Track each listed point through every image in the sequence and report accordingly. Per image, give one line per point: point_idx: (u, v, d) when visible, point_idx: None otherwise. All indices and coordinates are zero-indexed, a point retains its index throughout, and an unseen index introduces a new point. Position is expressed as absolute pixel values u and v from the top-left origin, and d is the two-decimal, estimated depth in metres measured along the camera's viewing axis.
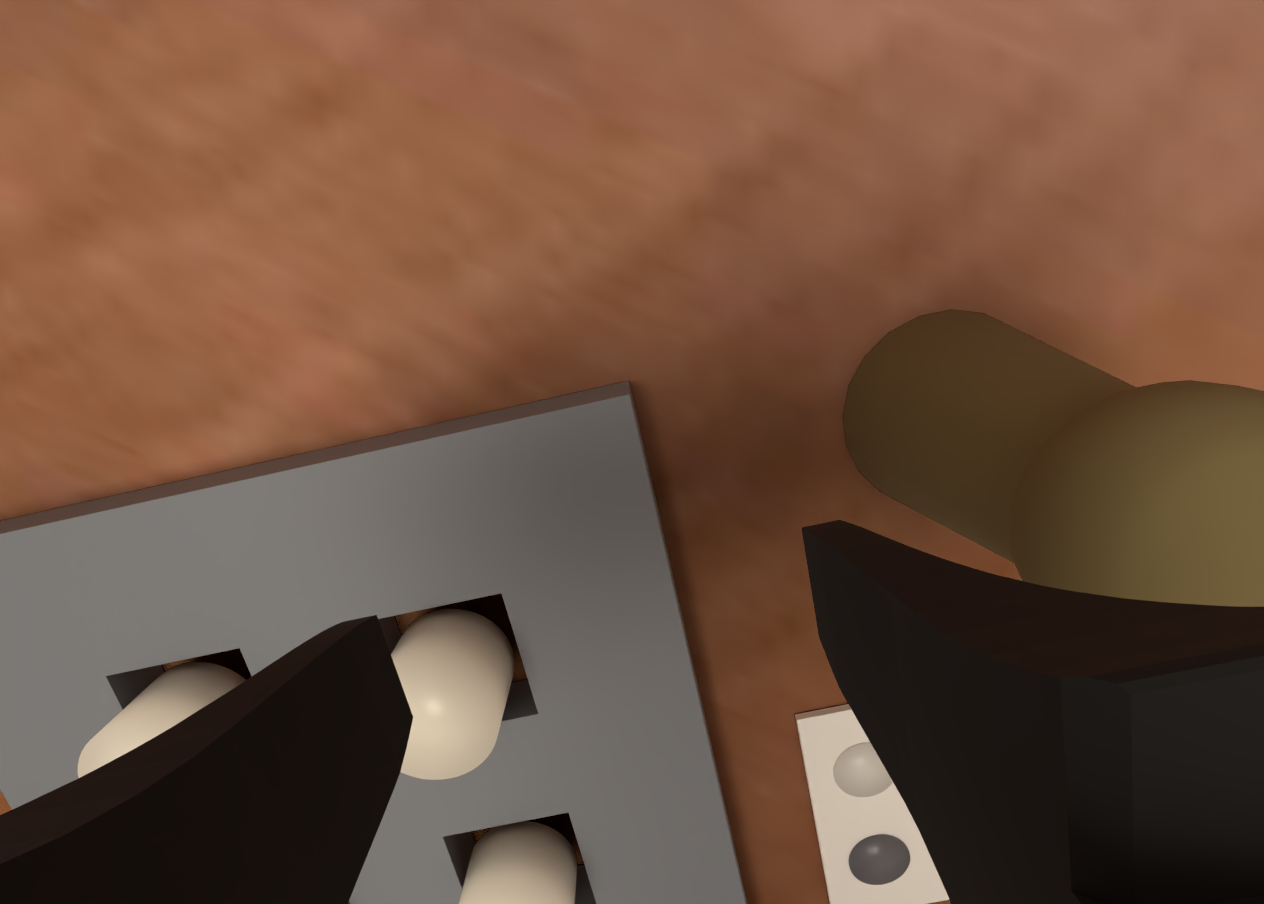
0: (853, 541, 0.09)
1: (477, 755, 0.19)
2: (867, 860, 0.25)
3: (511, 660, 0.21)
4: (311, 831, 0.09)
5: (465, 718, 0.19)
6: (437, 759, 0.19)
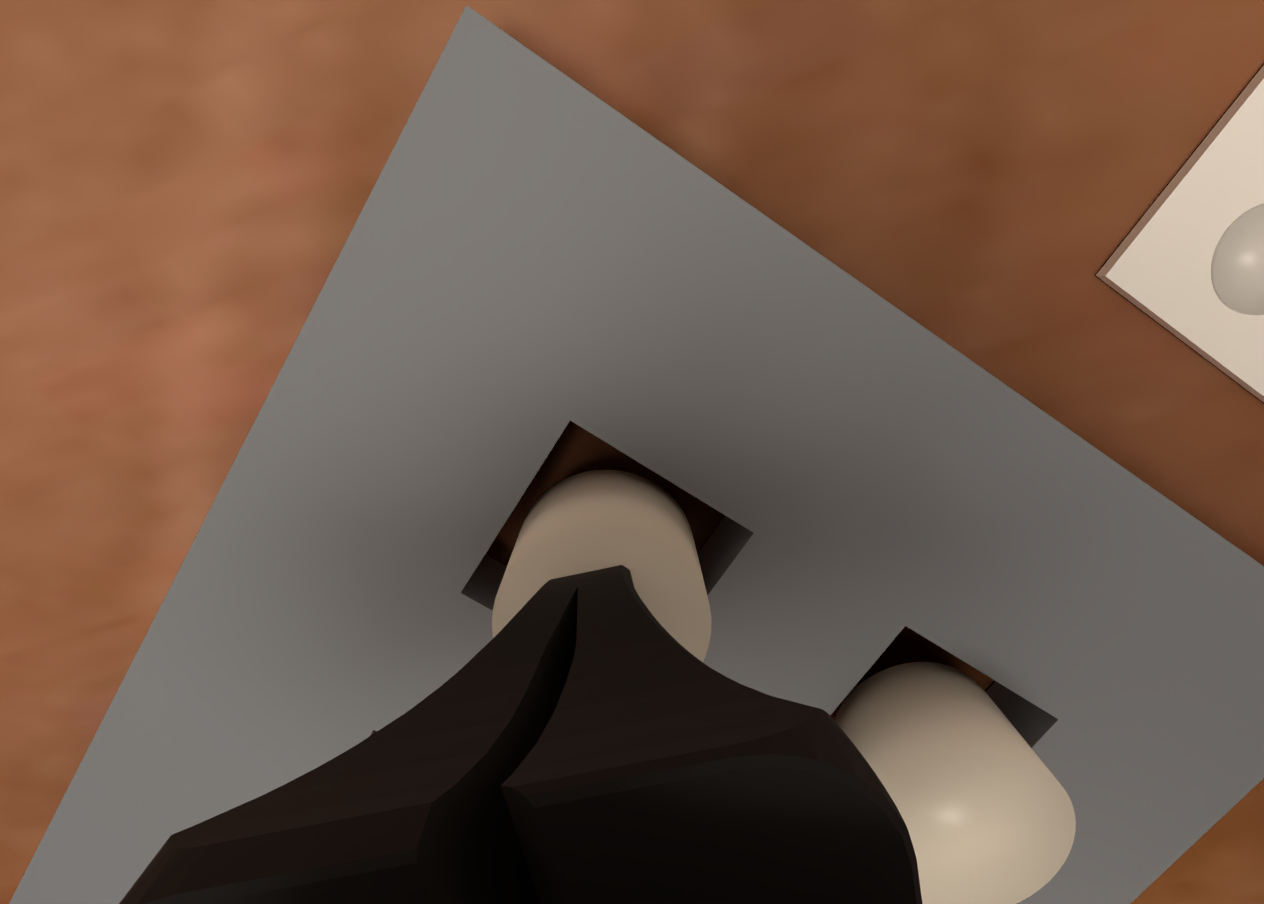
0: (600, 592, 0.10)
1: (696, 621, 0.11)
2: None
3: (660, 492, 0.13)
4: None
5: (636, 585, 0.11)
6: None
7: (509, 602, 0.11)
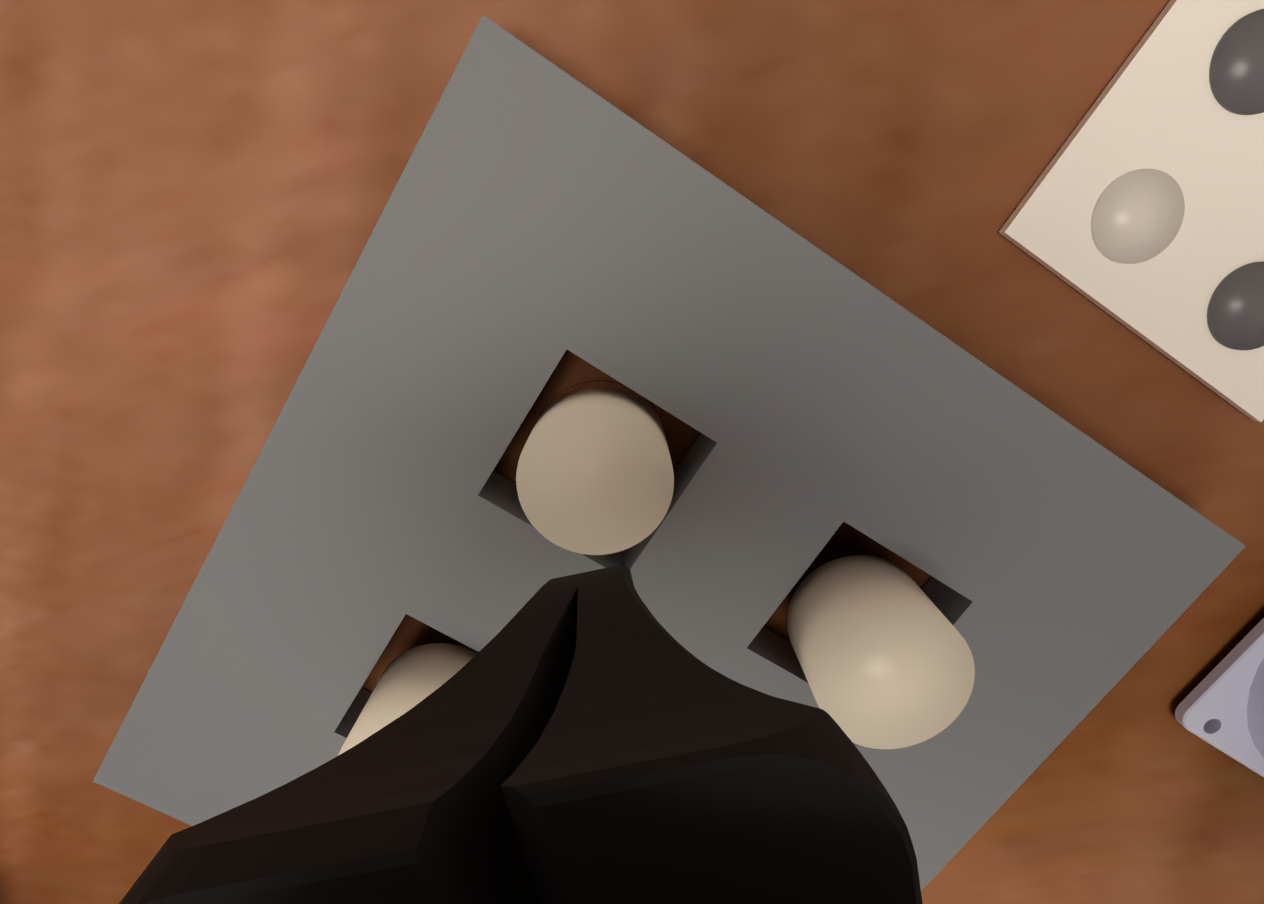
0: (600, 592, 0.10)
1: (663, 477, 0.16)
2: (1238, 320, 0.18)
3: (638, 397, 0.18)
4: None
5: (619, 449, 0.16)
6: (632, 512, 0.16)
7: (528, 463, 0.16)
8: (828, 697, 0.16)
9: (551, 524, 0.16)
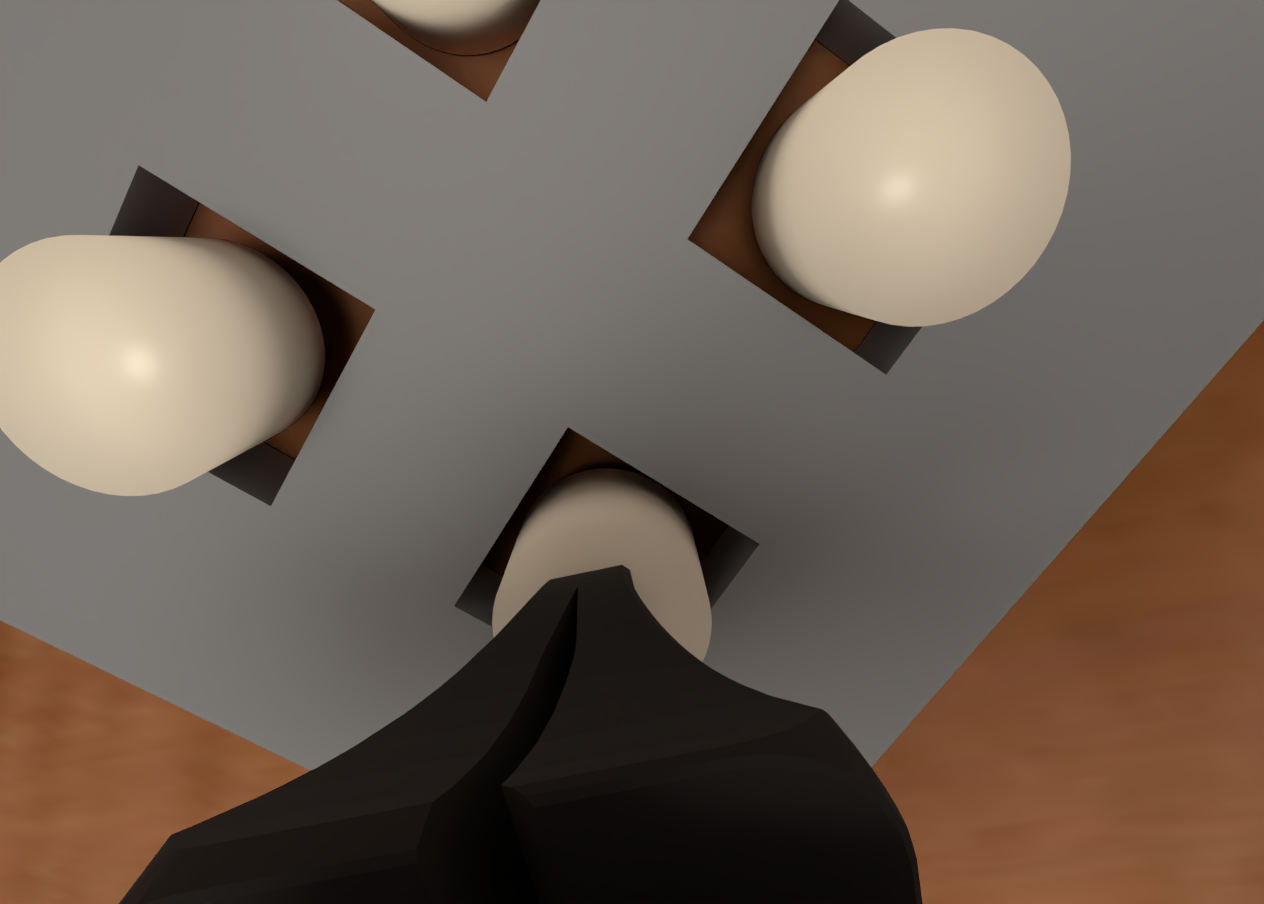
0: (600, 592, 0.10)
1: None
2: None
3: None
4: None
5: None
6: None
7: None
8: (813, 216, 0.09)
9: None
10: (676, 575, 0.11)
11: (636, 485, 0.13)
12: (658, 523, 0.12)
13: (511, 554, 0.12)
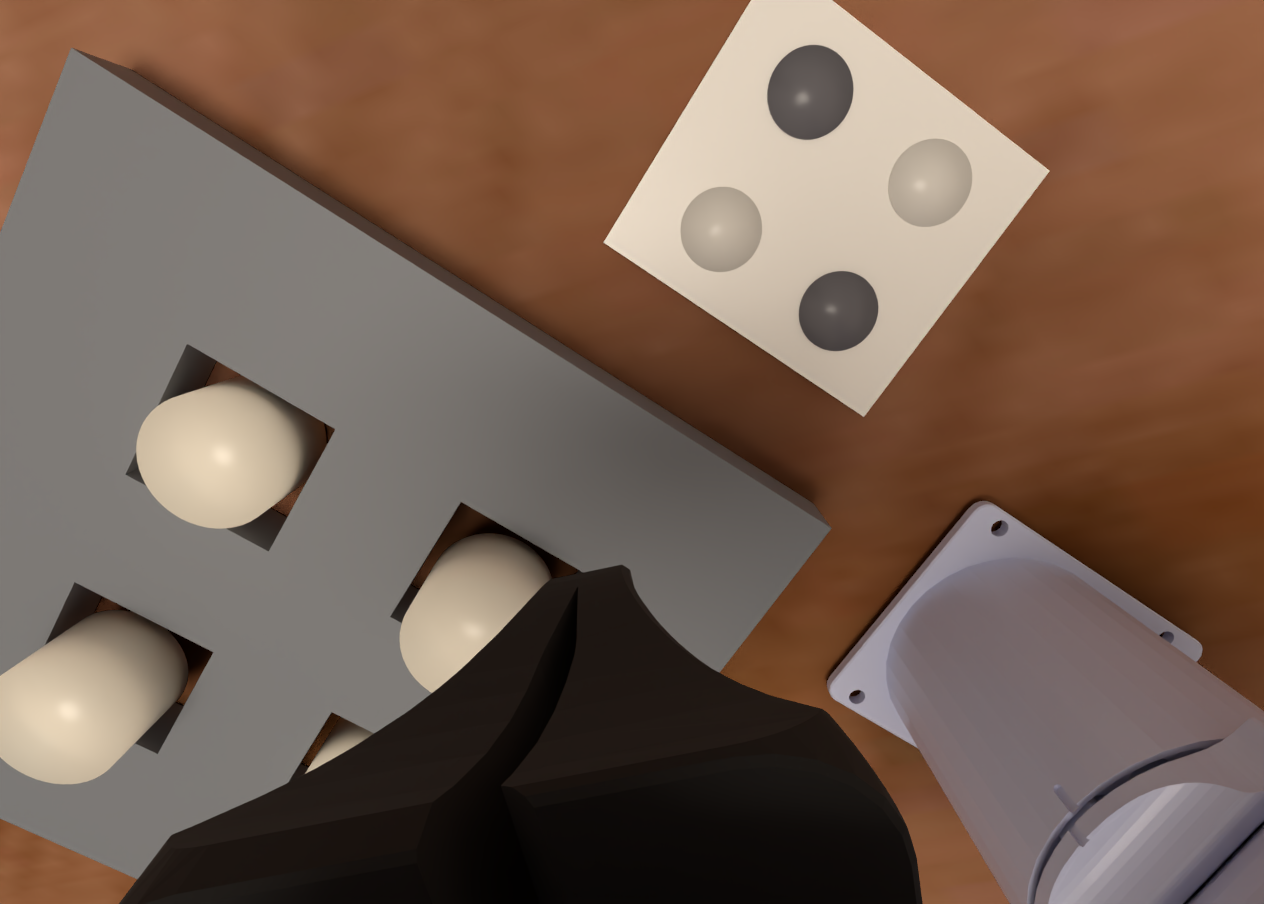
0: (600, 592, 0.10)
1: (269, 458, 0.18)
2: (828, 323, 0.20)
3: None
4: None
5: (226, 433, 0.18)
6: (246, 489, 0.18)
7: (146, 445, 0.18)
8: (413, 657, 0.18)
9: (174, 500, 0.18)
10: None
11: None
12: None
13: None
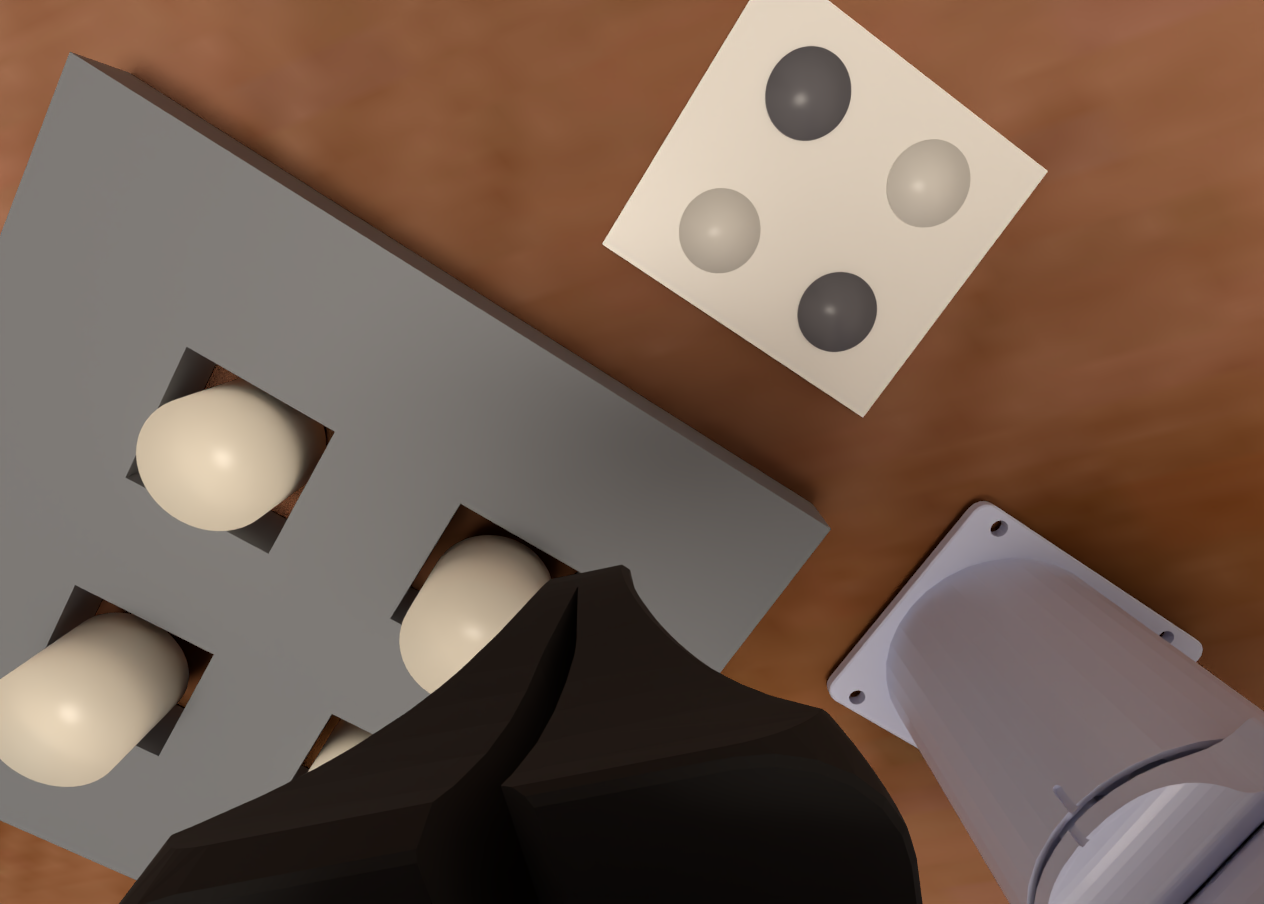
0: (600, 592, 0.10)
1: (268, 461, 0.18)
2: (826, 324, 0.20)
3: None
4: None
5: (225, 436, 0.18)
6: (246, 492, 0.18)
7: (146, 448, 0.18)
8: (413, 658, 0.18)
9: (174, 503, 0.18)
10: None
11: None
12: None
13: None
